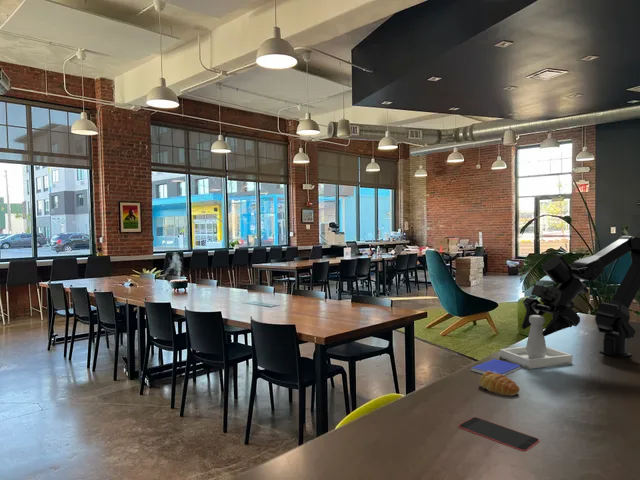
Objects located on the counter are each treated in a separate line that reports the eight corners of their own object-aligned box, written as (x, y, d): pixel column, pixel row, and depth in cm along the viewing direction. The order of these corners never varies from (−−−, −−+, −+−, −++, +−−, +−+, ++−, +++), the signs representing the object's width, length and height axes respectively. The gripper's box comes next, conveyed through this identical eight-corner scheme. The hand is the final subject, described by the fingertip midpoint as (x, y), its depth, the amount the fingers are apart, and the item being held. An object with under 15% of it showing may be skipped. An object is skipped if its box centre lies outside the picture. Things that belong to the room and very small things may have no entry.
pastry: (525, 394, 112) (526, 378, 112) (508, 399, 108) (508, 383, 108) (493, 382, 120) (493, 368, 120) (475, 387, 116) (476, 373, 116)
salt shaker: (525, 354, 143) (526, 313, 142) (546, 356, 140) (546, 314, 140) (526, 360, 137) (526, 316, 137) (547, 362, 135) (548, 318, 135)
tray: (540, 352, 147) (540, 344, 147) (572, 363, 136) (572, 355, 136) (499, 357, 142) (499, 349, 142) (528, 369, 131) (529, 360, 130)
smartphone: (524, 451, 83) (456, 425, 93) (524, 454, 83) (456, 428, 93) (541, 439, 88) (474, 416, 98) (541, 442, 88) (474, 418, 98)
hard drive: (498, 374, 123) (520, 364, 131) (470, 366, 129) (493, 358, 137) (498, 380, 123) (520, 370, 131) (470, 372, 129) (493, 363, 137)
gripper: (528, 272, 148) (497, 307, 146) (572, 279, 130) (537, 319, 128) (549, 295, 150) (518, 331, 148) (595, 305, 132) (561, 346, 130)
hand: (532, 331), depth 138 cm, fingers open, 9 cm apart
